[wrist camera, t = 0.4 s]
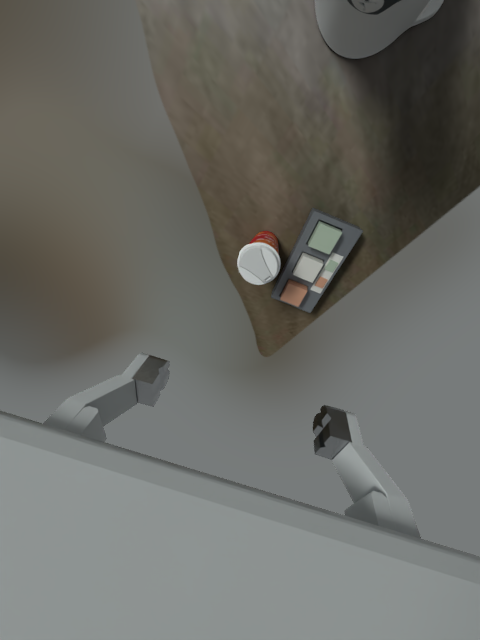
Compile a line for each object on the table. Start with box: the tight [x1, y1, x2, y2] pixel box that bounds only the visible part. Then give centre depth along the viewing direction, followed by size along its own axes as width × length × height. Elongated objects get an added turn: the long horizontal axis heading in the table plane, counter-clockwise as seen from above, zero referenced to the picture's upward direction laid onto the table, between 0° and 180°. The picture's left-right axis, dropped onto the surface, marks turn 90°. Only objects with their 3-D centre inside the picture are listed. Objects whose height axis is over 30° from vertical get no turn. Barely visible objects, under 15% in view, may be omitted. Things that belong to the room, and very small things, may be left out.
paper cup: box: [237, 231, 281, 285], centre depth 45 cm, size 8×8×14 cm
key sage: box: [308, 221, 342, 254], centre depth 44 cm, size 4×4×2 cm
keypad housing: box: [271, 208, 363, 313], centre depth 50 cm, size 20×10×4 cm, turn 161°
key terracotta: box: [280, 279, 308, 307], centre depth 52 cm, size 4×4×2 cm
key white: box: [293, 252, 323, 283], centre depth 48 cm, size 4×4×2 cm
